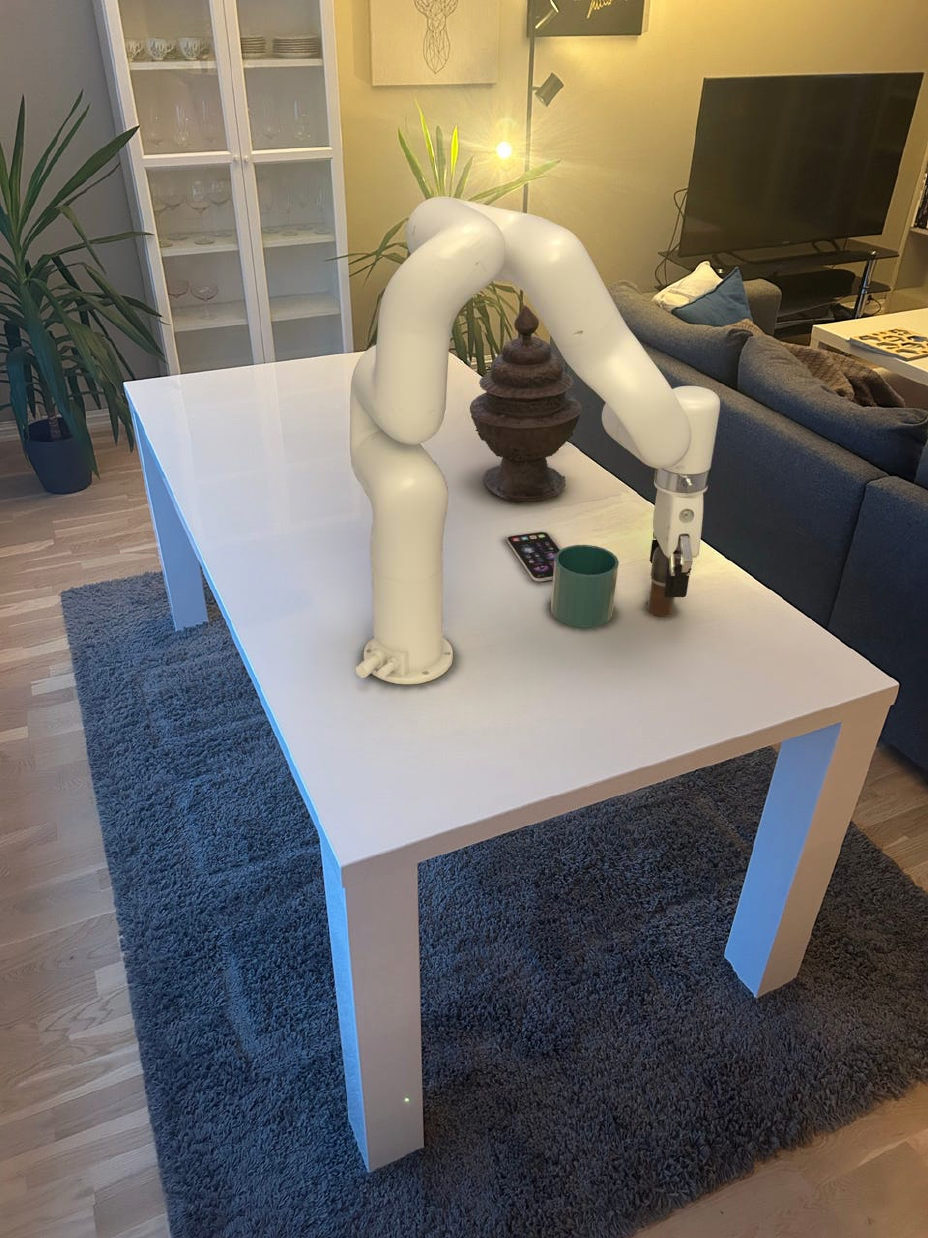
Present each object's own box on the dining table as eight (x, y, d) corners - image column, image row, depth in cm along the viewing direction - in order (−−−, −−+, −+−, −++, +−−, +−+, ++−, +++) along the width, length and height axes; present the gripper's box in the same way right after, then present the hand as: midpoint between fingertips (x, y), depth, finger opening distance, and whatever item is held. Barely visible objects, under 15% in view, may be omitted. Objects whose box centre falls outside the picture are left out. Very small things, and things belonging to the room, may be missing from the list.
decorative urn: (598, 477, 185) (602, 294, 165) (547, 523, 171) (544, 331, 151) (509, 456, 195) (502, 282, 174) (453, 499, 181) (439, 315, 161)
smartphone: (545, 530, 166) (578, 573, 154) (545, 533, 167) (578, 576, 155) (504, 536, 164) (534, 579, 152) (504, 539, 165) (534, 582, 153)
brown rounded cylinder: (667, 620, 144) (678, 555, 138) (640, 611, 146) (650, 547, 140) (678, 607, 148) (689, 543, 141) (651, 599, 149) (661, 535, 143)
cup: (596, 634, 141) (602, 582, 136) (540, 615, 145) (543, 564, 140) (622, 606, 148) (628, 555, 143) (567, 588, 152) (572, 538, 147)
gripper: (725, 502, 128) (706, 609, 137) (692, 450, 142) (677, 550, 151) (669, 504, 127) (655, 611, 137) (642, 451, 142) (631, 551, 151)
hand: (667, 578), depth 144 cm, fingers open, 9 cm apart
